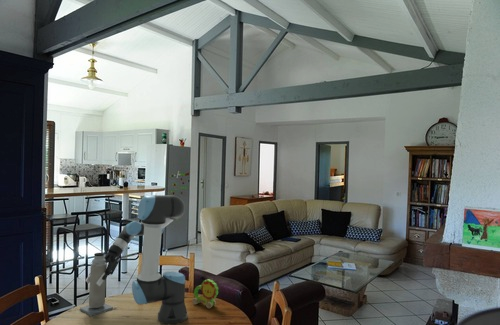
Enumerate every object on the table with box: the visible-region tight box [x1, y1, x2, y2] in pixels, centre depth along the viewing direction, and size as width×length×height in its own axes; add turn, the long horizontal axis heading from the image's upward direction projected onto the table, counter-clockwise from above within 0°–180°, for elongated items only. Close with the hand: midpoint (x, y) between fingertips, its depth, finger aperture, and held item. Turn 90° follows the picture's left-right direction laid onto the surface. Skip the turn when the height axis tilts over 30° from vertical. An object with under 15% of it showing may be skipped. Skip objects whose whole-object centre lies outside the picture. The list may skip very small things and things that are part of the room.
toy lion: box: [191, 278, 219, 310], centre depth 196 cm, size 16×5×15 cm, turn 61°
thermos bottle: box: [88, 252, 108, 308], centre depth 185 cm, size 8×8×28 cm
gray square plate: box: [79, 303, 114, 317], centre depth 185 cm, size 12×12×1 cm
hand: (92, 283), depth 182 cm, fingers closed on thermos bottle, 8 cm apart
